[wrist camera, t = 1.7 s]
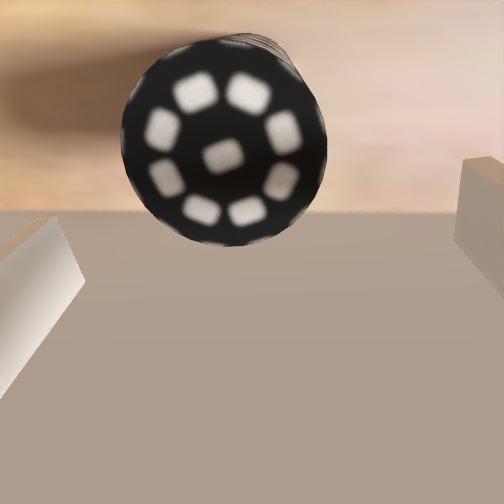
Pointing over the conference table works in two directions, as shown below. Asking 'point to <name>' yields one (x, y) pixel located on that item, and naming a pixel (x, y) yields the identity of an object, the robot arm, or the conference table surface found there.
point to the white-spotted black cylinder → (224, 141)
